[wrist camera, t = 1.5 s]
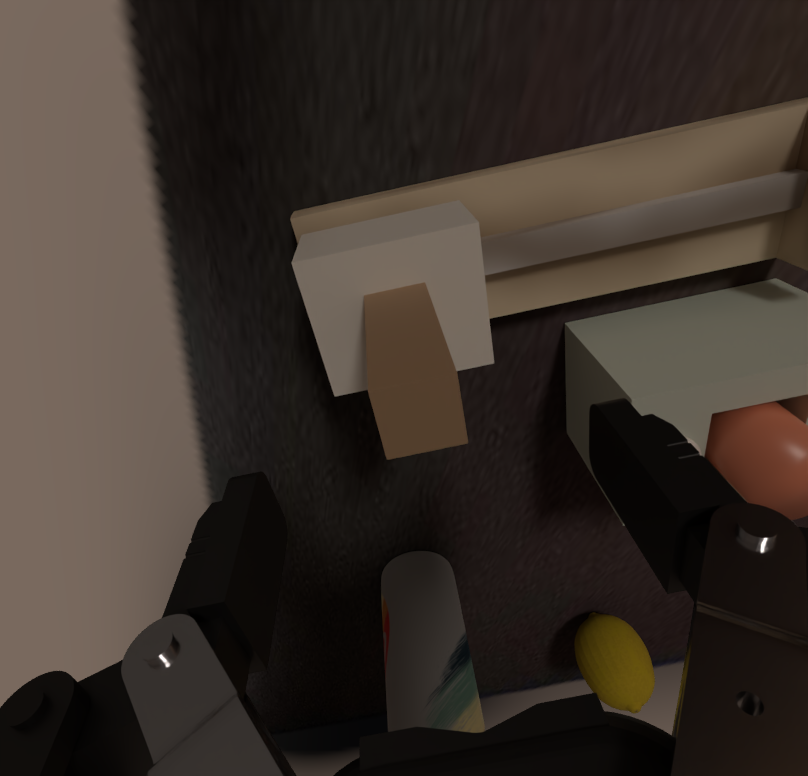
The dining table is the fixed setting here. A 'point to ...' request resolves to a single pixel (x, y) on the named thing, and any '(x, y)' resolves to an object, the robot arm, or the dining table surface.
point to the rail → (623, 208)
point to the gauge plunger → (762, 456)
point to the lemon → (614, 662)
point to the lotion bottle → (426, 647)
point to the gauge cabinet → (691, 359)
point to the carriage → (401, 318)
